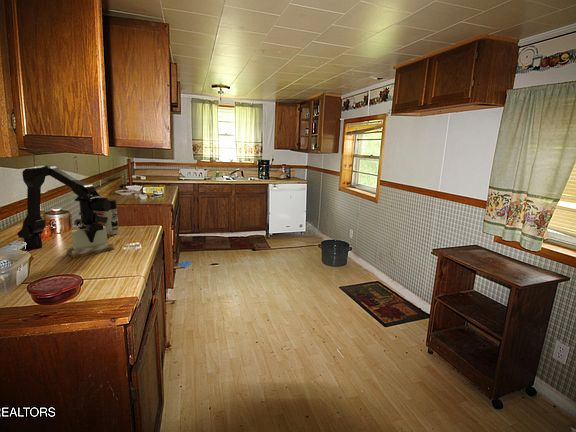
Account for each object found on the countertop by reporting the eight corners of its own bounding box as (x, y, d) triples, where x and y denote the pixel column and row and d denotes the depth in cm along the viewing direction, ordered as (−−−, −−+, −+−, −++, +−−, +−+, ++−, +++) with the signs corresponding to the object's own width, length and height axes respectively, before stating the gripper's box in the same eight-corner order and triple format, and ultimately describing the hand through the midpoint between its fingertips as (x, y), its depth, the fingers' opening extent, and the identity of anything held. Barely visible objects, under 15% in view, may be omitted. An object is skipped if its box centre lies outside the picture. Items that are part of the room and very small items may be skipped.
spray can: (113, 235, 182) (110, 201, 178) (103, 234, 183) (100, 200, 179) (121, 232, 188) (119, 199, 184) (111, 231, 190) (109, 198, 185)
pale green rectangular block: (75, 250, 148) (74, 232, 146) (73, 248, 150) (71, 230, 148) (107, 244, 159) (106, 227, 157) (104, 242, 161) (103, 225, 159)
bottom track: (73, 258, 145) (73, 251, 144) (66, 253, 150) (65, 247, 150) (114, 249, 159) (113, 243, 158) (106, 245, 164) (106, 239, 164)
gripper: (113, 211, 151) (116, 242, 154) (97, 205, 162) (99, 234, 165) (88, 214, 142) (91, 247, 146) (72, 208, 153) (75, 238, 157)
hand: (90, 241), depth 154 cm, fingers closed on pale green rectangular block, 3 cm apart
